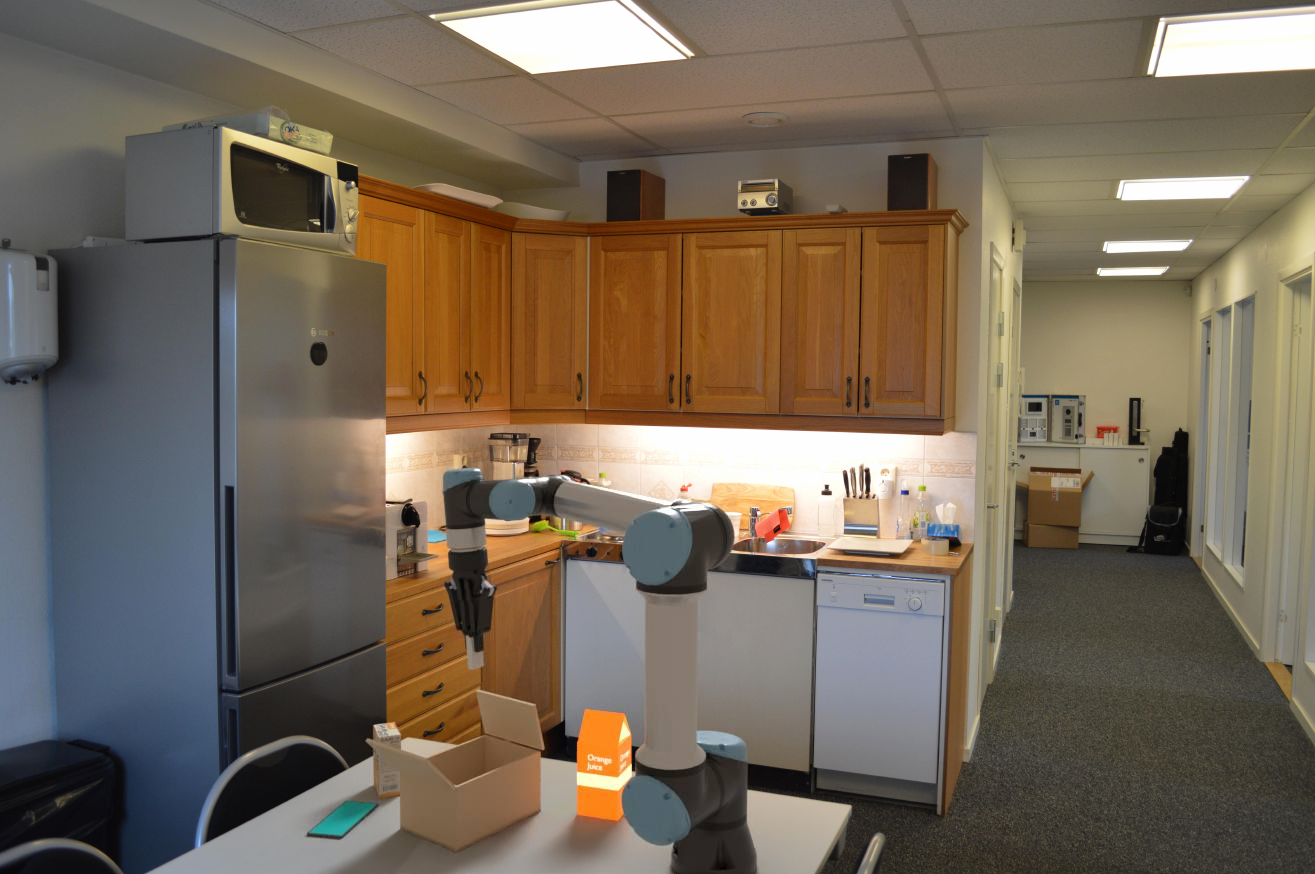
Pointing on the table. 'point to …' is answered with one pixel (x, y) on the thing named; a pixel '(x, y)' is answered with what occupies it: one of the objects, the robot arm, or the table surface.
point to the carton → (472, 793)
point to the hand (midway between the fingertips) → (476, 667)
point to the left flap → (411, 763)
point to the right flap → (510, 719)
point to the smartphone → (343, 819)
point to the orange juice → (603, 764)
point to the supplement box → (383, 770)
